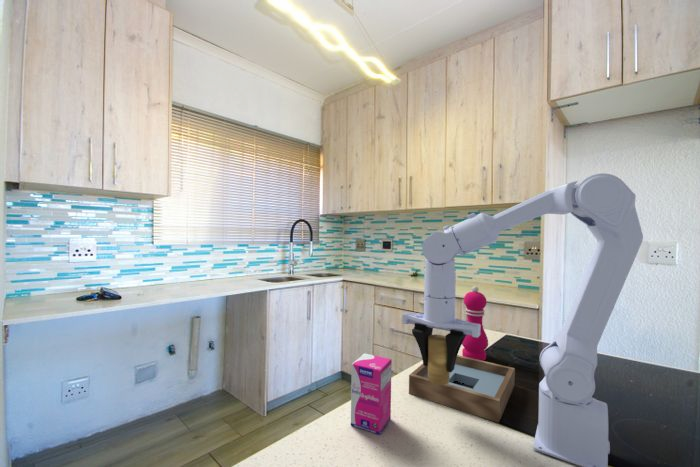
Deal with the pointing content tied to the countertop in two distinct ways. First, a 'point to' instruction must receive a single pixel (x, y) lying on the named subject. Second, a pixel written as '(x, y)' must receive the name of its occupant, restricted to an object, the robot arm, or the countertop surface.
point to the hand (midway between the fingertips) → (438, 367)
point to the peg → (437, 360)
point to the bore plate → (475, 380)
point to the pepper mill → (474, 315)
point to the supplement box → (371, 393)
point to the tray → (463, 397)
